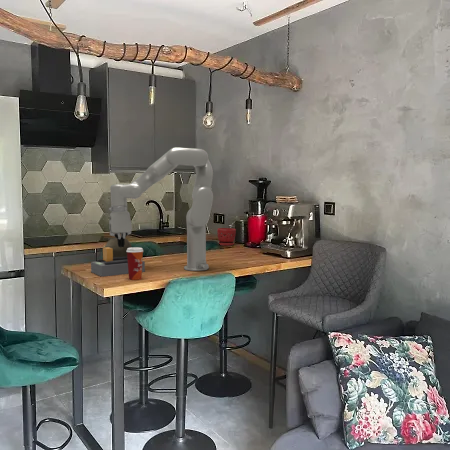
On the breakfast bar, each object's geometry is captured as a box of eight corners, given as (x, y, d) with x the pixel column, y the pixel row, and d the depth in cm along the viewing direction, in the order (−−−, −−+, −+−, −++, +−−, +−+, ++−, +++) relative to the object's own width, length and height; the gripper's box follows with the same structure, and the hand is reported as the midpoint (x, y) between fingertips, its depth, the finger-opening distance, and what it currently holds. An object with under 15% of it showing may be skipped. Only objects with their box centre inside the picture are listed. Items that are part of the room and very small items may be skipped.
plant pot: (229, 246, 320) (229, 229, 319) (213, 245, 327) (213, 228, 326) (239, 244, 331) (239, 228, 330) (223, 243, 338) (223, 227, 337)
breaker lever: (112, 264, 221) (112, 248, 220) (106, 265, 219) (106, 248, 219) (109, 263, 225) (108, 247, 224) (103, 264, 223) (102, 247, 223)
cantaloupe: (103, 263, 249) (103, 236, 248) (130, 262, 254) (129, 235, 253) (106, 268, 236) (106, 239, 234) (134, 266, 241) (134, 238, 239)
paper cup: (139, 280, 205) (138, 249, 203) (123, 279, 207) (123, 249, 205) (146, 277, 212) (146, 247, 211) (131, 276, 214) (131, 246, 213)
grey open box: (144, 271, 226) (144, 258, 226) (101, 276, 214) (101, 263, 213) (132, 267, 238) (132, 255, 237) (91, 272, 225) (90, 259, 224)
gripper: (107, 210, 216) (109, 249, 218) (136, 208, 225) (138, 245, 227) (101, 210, 222) (103, 247, 224) (130, 208, 231) (132, 244, 233)
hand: (121, 246), depth 225 cm, fingers closed
